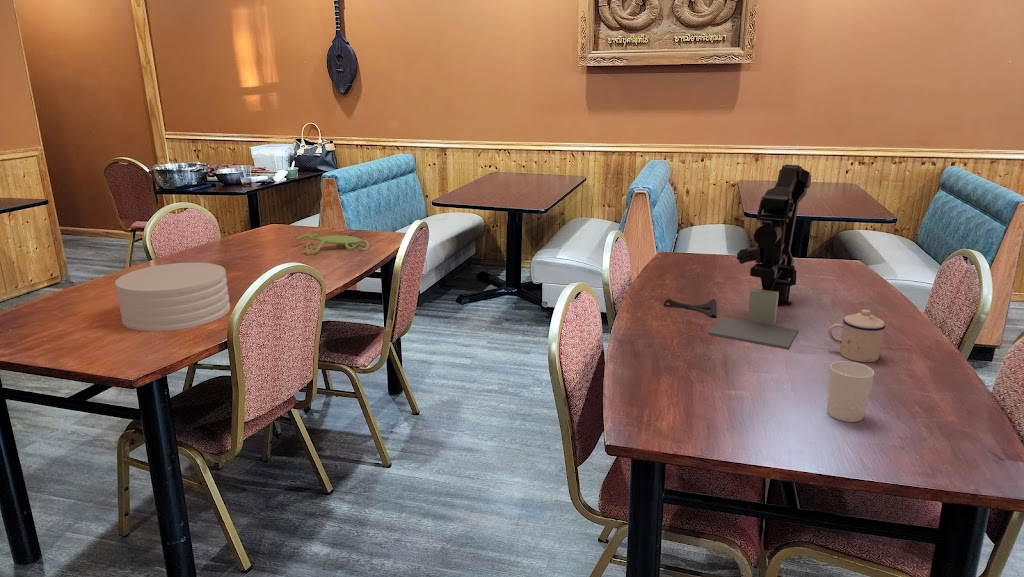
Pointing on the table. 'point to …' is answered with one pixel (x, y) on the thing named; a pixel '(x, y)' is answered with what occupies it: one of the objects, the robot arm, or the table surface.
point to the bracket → (695, 307)
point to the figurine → (334, 241)
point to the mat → (754, 332)
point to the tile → (763, 306)
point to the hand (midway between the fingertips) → (765, 295)
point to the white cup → (848, 390)
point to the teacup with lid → (860, 336)
